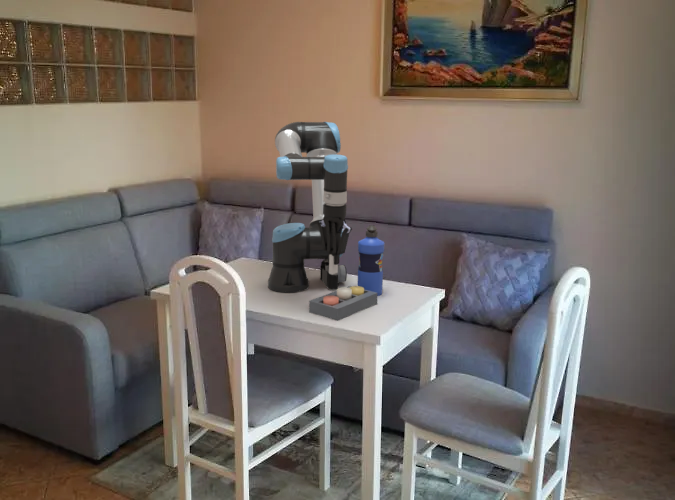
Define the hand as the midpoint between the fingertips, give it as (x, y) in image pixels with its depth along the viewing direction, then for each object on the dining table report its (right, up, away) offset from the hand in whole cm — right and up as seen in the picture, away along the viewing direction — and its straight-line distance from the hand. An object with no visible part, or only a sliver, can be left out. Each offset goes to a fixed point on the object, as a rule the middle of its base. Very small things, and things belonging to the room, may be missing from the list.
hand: (333, 272), depth 223 cm
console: (+4, -12, +4) cm, 13 cm away
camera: (0, -6, +29) cm, 30 cm away
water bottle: (+13, -8, +20) cm, 26 cm away
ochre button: (+8, -9, +9) cm, 15 cm away
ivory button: (+4, -9, +3) cm, 10 cm away
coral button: (-1, -11, -2) cm, 11 cm away
